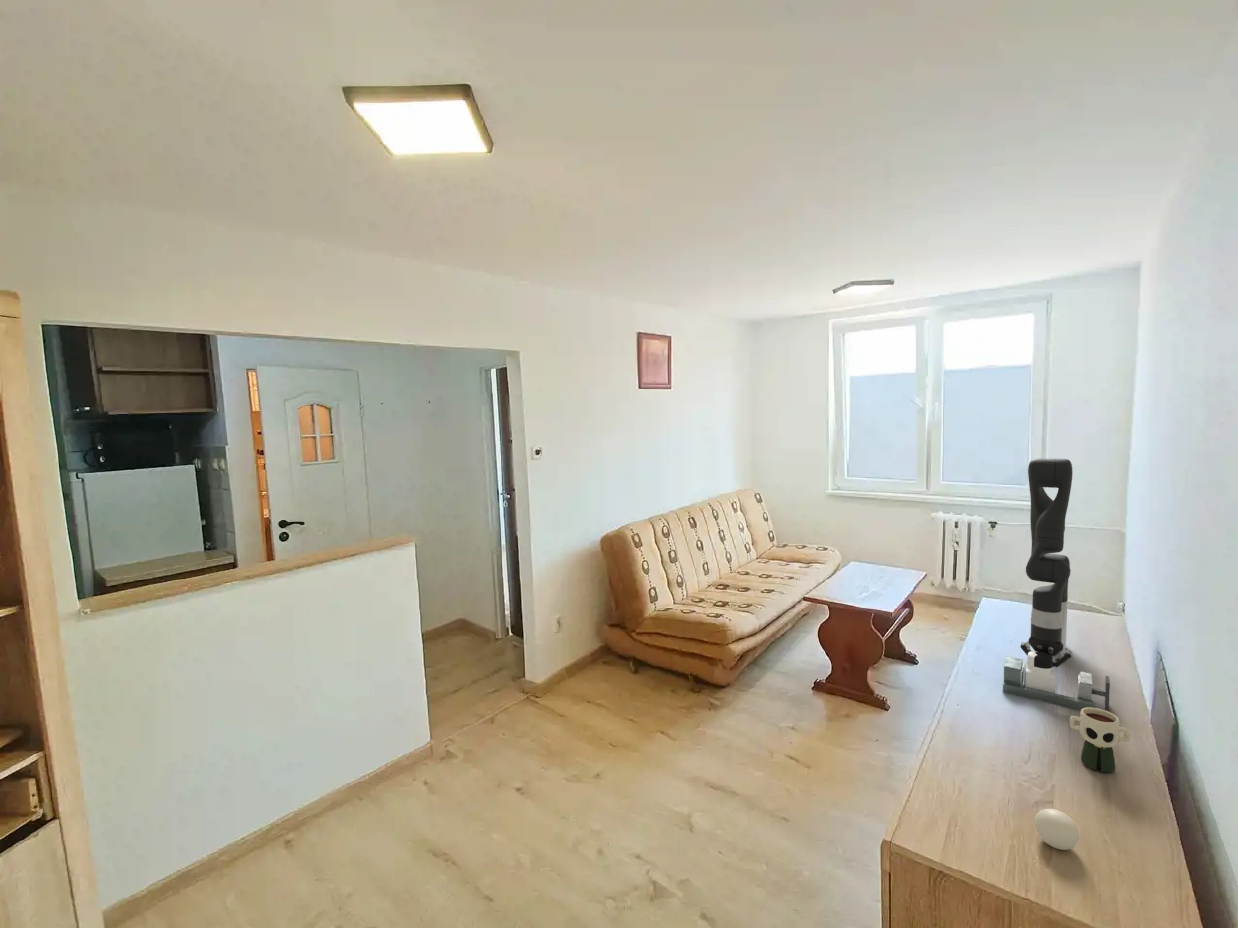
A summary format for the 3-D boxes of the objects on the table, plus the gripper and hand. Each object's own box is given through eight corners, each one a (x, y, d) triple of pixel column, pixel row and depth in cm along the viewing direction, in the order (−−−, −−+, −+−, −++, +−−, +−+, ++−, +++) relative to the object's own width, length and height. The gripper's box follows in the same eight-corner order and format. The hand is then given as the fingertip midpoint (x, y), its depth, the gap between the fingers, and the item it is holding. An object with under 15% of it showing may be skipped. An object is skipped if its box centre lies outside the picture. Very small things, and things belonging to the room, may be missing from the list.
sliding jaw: (1077, 694, 166) (1078, 668, 165) (1107, 701, 161) (1109, 674, 160) (1077, 705, 160) (1078, 678, 159) (1108, 712, 155) (1110, 685, 155)
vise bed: (1006, 678, 177) (1006, 656, 176) (1095, 698, 163) (1096, 674, 162) (1002, 691, 169) (1003, 668, 168) (1095, 714, 155) (1096, 688, 155)
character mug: (1068, 765, 135) (1070, 714, 133) (1068, 750, 140) (1070, 701, 139) (1129, 782, 128) (1132, 729, 127) (1126, 766, 134) (1129, 714, 132)
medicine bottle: (1053, 689, 169) (1054, 651, 168) (1055, 700, 163) (1056, 660, 162) (1024, 683, 173) (1025, 646, 172) (1025, 693, 167) (1026, 655, 166)
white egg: (1062, 830, 115) (1063, 800, 114) (1085, 859, 108) (1087, 827, 107) (1026, 828, 116) (1027, 798, 115) (1047, 856, 109) (1048, 824, 108)
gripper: (1074, 623, 168) (1072, 678, 170) (1020, 614, 176) (1019, 666, 178) (1074, 631, 162) (1072, 688, 164) (1018, 622, 171) (1017, 676, 173)
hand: (1044, 676), depth 171 cm, fingers closed
